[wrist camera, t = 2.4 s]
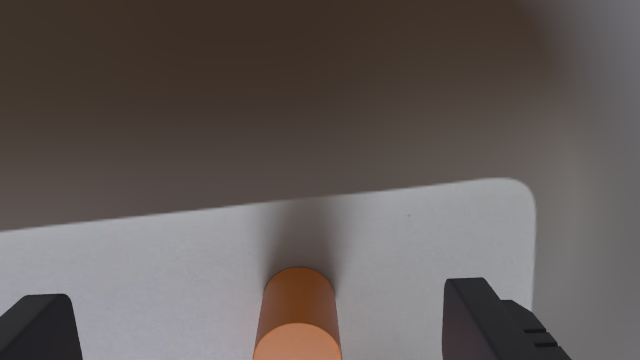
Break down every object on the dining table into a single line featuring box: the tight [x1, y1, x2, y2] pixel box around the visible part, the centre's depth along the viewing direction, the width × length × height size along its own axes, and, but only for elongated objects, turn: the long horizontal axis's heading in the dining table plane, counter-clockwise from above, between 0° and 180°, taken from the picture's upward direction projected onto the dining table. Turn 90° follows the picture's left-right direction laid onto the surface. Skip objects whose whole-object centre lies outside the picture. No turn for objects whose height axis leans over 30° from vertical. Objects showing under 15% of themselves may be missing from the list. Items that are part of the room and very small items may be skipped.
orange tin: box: [253, 267, 342, 360], centre depth 31 cm, size 5×5×7 cm
